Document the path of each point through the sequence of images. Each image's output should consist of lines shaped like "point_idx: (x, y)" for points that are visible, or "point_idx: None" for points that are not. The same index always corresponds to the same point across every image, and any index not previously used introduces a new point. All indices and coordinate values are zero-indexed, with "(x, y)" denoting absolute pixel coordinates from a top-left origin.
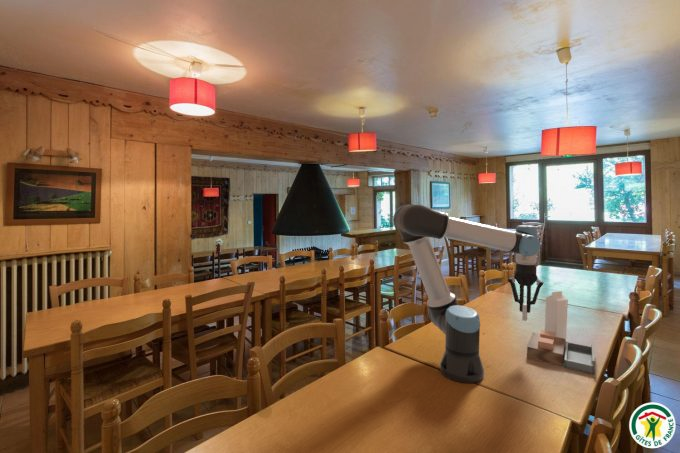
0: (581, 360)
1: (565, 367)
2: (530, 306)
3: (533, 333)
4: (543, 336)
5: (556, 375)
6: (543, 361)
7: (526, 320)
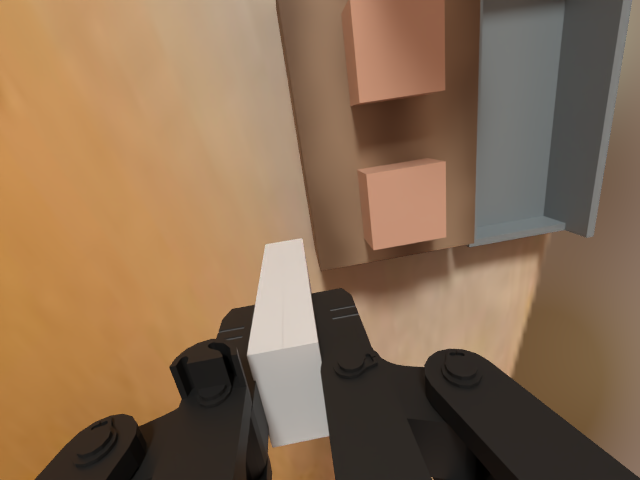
0: (517, 123)
1: None
2: (367, 340)
3: (285, 1)
4: (375, 101)
5: (432, 317)
6: None
7: (311, 291)
